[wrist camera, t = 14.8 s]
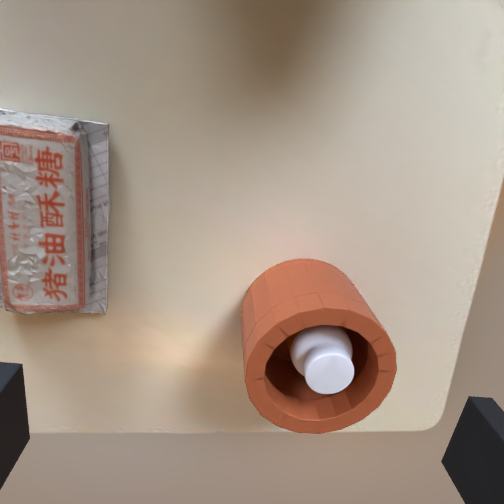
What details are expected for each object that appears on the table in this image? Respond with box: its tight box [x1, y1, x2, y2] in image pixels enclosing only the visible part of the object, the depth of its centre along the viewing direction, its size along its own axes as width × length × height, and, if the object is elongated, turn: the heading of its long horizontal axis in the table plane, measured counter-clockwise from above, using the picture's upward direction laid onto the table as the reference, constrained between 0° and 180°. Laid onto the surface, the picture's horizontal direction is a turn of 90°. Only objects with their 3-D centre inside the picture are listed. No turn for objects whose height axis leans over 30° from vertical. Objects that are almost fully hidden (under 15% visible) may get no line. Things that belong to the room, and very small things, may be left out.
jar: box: [241, 259, 397, 434], centre depth 36 cm, size 12×12×10 cm
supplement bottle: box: [286, 325, 354, 394], centre depth 36 cm, size 5×5×10 cm
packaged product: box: [0, 109, 111, 314], centre depth 34 cm, size 18×5×10 cm
